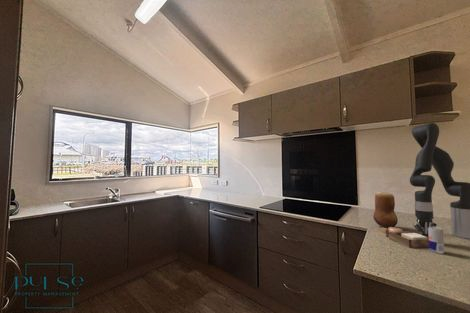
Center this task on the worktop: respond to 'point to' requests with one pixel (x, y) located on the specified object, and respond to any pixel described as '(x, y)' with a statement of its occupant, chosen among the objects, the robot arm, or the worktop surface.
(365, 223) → the worktop surface
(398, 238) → the walnut display stand
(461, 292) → the worktop surface
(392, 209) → the butternut squash
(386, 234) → the oak block
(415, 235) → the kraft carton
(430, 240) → the energy drink
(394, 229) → the cream small lump
